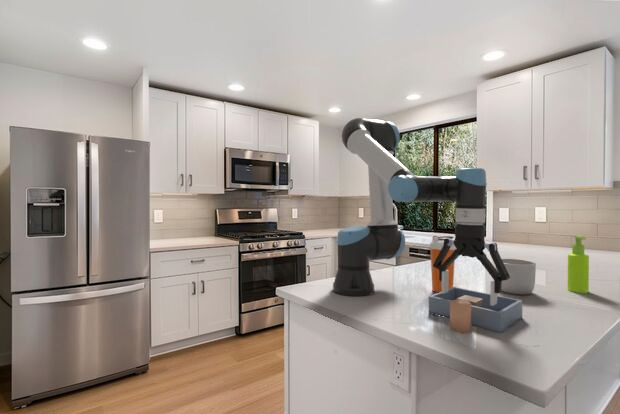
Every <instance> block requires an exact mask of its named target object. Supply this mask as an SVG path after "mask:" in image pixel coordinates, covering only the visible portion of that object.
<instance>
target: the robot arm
mask: <svg viewBox="0 0 620 414" xmlns="http://www.w3.org/2000/svg"><path fill="white" fill-rule="evenodd" d="M400 136H401V135H400V131H399V129H398V127H397V125H396V124H395V123H393V122H391V121H387V120H384V119H381V120H380V119H372V118H364V117H356V118H354V119H350V120H349V121H348V122H346V124H345V125H344V127H343V129H342V131H341V141H342V144H343V145H344V148H346V149H347V151H349V153H351V154H354V155H357V156H358V157H359V158H360V159H361V160H362V162H364V164H366V165H367V169H368V172H367V173H368V192H369V206H370V207H369V209H370V221H369V222H368V223H367V224H366V226H364V225H363V226H362V225H360V226H359V225H357V226H350V227H345V228H342V229H340V230H339V231H338V233H337V239H336V245H337V249H336V250H337V271H336V274H335V276H334V277H335V278H334V281H333V283H332V290H333V292H334V293H335V294H339V295H342V296H349V297H362V296H363V297H364V296H369V295H371V294H374V292H375V284H374V281H373V279H372V278H373V277H372V274H371V270H370V261H379V260H392V259H396V258H398V257H399V256H401V254H402V253H403V252H404V250H405V246H406V237H405V234H404V233H403V231H402V230H401V229H400V228H399V227H398V225H399V224H398V222H397V221H395V220H394V209H393V201H395V202H400V203H401V202H402V203H413V202H414V203H417V202H418V203H419V202H420V203H421V202H422V203H423V202H428V203H429V202H430V203H431V202H434V203H435V202H437V203H438V202H445V203H446V202H453V203H455V219H454V220H455V222H456V223H455V226H454V227H455V228H454V236H455V237H454V238H452V239H451V238H443V239H444V244H443V247H442V249H441V251H440V253H439V255H438V256H437V258H436V260H435V262H434V264H433V267H435V268H437V269H439V280H440V281H442V292H441V293H443V294H444V293H447V292H448V285H449V271H448V270H446V269H447V268H448V267H449V266H450V265H451V264H452V263H453V262H454V261H456V260H457V259H458V258H459V257H460V256H462V257H469V258H476V260H478V261H479V262H480V264H481V265H482V266H483V268H485V270H486V271H487V273H488V274H489V275H490V277H491V278H492V280H490V293H489V294H490V305H492V306H494V305H495V304H497V296H498V294H500V293H502V290H501V285H502V281H503V280H504V281H505V280H507V279H509V278H510V276H509V274H508V271H507V269H506V267H505V265H504V263H503V261H502V259H503V258H502V257H501V255H500V253H499V251H498V244H497V243H496V242H491V243H487V242H486V240H485V239H486V238H485V235H486V232H485V231H486V225H484V224H485V223H486V195H487V194H486V193H487V173H486V170H485V169H484V168H481V167H462V168H458V169H457V170H456V174H455V176H430V175H429V176H425V175H423V176H422V175H416V174H415V173H413V172H412V171H411V170H409V169H408V167H406V166H405V165H403V163H401V162H400V161H399V160H398V159H397V158H396V157H394V156H393V155H394V154H395V150H396V149H397V148H398V146H399V143H400ZM453 244H454V245H455V247H456V250H455V251H454V252H453V253H452V255H451V256H450V257H449V258H448V259H447V260H446V261H445V262H444V263H443V264H442V262H443V260H444V258H445V257H446V255H447V253H448V251H449V249H450V247H451V246H452V245H453ZM485 249H486V250H487V252H488V253H489V254H490V257H491V259H492V262H493V263H492V262H491V261H490V260H489V258H488V256H487V254H486V253H485V252H484V250H485ZM454 263H455V262H454ZM441 264H442V265H441ZM496 268H497V270H498V271H497V270H496Z"/></svg>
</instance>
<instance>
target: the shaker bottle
mask: <svg viewBox="0 0 620 414" xmlns="http://www.w3.org/2000/svg"><path fill="white" fill-rule="evenodd" d="M446 238H451V239H455V237H454V236H450V235H447V236H445V235H444V236H437V235H433V237H432V240H431V241H430V242H429V250H430V268H431V269H430V271H431V287H432V288H431V290H432V291H433V290H434V291H433V292H435V291H437V292H436V293H438V292H442V281H440V280H439V269H437V268H435V267H433V264H434V262H435V260H436V258H437V256H438V255H439V253H440V251H441V249H442V247H443V244H444V239H446ZM456 249H457V248H456V247H455V245H454V244H453V245H452V246H451V247H450V249H449V251H448V253H447V255H446V257H445V258H444V260H443V262H442V264H443V263H444V262H445V261H446V260H447V259H448V258H449V257H450V256H451V255H452V253H453V252H454V251H455V250H456ZM455 261H456V260H455ZM455 261H454V262H453V263H452V264H451V265H450V266H449V267H448V268H447V269H446V270H448V271H449V285H448V289H450V288H452V287H454V277H455ZM442 264H441V265H442Z"/></svg>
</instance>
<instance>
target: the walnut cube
mask: <svg viewBox="0 0 620 414" xmlns="http://www.w3.org/2000/svg"><path fill="white" fill-rule="evenodd" d="M457 300H465V301H468V302H470V303H471V305H472V306H477V307H481V308H483V299H482V298H477V297H472V296H467V295H464V296H462V297H459V298H457Z"/></svg>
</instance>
